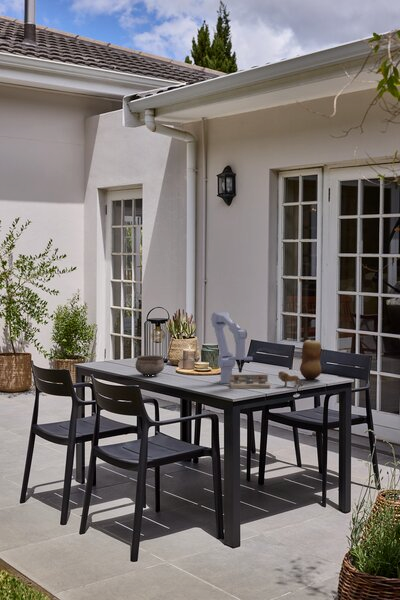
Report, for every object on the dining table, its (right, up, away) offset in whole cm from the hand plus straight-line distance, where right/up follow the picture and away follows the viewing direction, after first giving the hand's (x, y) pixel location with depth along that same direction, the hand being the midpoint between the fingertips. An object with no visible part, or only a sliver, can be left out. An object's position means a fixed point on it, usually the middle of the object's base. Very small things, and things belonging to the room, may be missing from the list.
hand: (240, 372), depth 475 cm
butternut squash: (+46, -7, +27) cm, 54 cm away
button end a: (-2, -8, +1) cm, 8 cm away
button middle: (+6, -7, +1) cm, 9 cm away
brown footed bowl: (-57, -6, +43) cm, 71 cm away
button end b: (+13, -7, +1) cm, 15 cm away
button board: (+6, -8, +1) cm, 10 cm away
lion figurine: (+30, -9, 0) cm, 31 cm away
